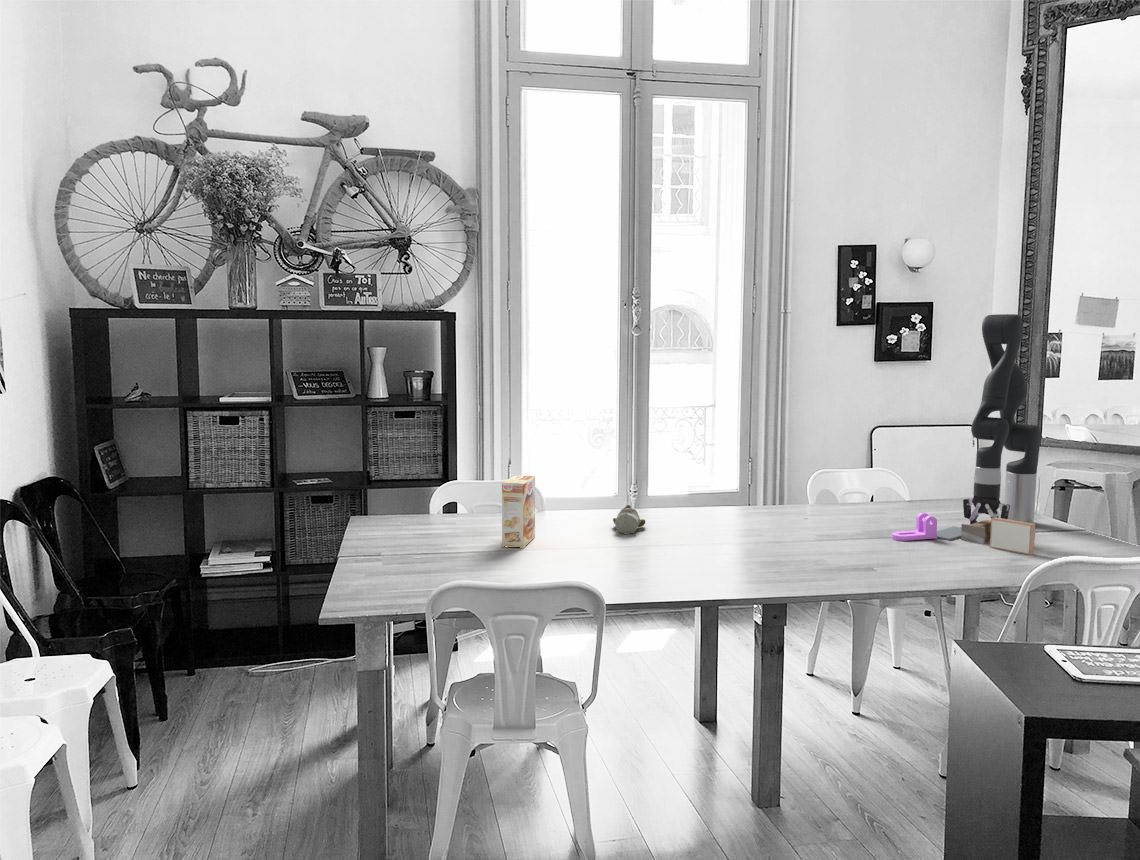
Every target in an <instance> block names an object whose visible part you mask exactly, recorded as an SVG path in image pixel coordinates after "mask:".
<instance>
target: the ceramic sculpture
mask: <svg viewBox="0 0 1140 860" xmlns="http://www.w3.org/2000/svg"><path fill="white" fill-rule="evenodd" d="M612 521H613V524H614V525H615V528H616V531H618V532H619V533H621V534H623V533H624V535H630V534H629V533H631V534H634V533H635V532H636V531H637V529H638V528H642V527H644V526H645V525H646V519H643V518H642V519H641V518H640V516H639V513H638V511H637V510H636V509H635V508H633V507H632V506H631V505H629V504H627V505H625V506H624V507H623V508H621V510H620V511H619V512H618V514H617V516H616V517H613V519H612Z"/></svg>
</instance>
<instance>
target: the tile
mask: <svg viewBox="0 0 1140 860" xmlns="http://www.w3.org/2000/svg"><path fill="white" fill-rule="evenodd" d="M990 519H991V520H990V521H991V533H990V539H989V548H990V549H996V550H1000V551H1007V552H1011V553H1018V554H1021V555H1027V556H1033V555H1034V554H1035V540H1036V539H1035V538H1036V523H1035V522H1034V523H1027V522H1021V521H1015V520H1009V519H1003V518H1000V517H999V518H996V517H993V518H990Z"/></svg>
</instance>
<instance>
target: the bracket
mask: <svg viewBox="0 0 1140 860" xmlns="http://www.w3.org/2000/svg"><path fill="white" fill-rule="evenodd" d="M915 520H916V521H915V522H916V525H915V530H913V529H912V530H902V531H894V532H893V531H892V533H891V539H892V540H895V541H899V542H900V541H902V542H907V541H916V540H930V539H938V538H937V531H938V520H937V518H936V517H935V516H933V515H929V514H928V513H926V512H919V513H918V514H917V516H916V519H915ZM930 521H931V522H930Z"/></svg>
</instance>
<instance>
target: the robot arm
mask: <svg viewBox="0 0 1140 860" xmlns="http://www.w3.org/2000/svg"><path fill="white" fill-rule="evenodd" d="M981 333H982V339H983V342H984V346H985V349H986V353H987V355H988V359H989V363H990V367H991V370H990V372H989V373H988V374H987V377H986V378H985V380H984V382H983V383H984V384H983V390H982V394H981V395H982V396H981V402H980V405H979V408H978V410H977V412H976V415H975V417H974V418H973V421H972V424H971V427H970V430H971V431H970V432H971V434H972V436H973V438H975V439H976V440H977V439H978V440H986V441H993V444H992V445H990V446H985V447H983V446H982V447H979V448H978V449H977V450H976V454H975V455H976V456H975V469H974V477H973V497H972V498H964V499H963V500H962V505H963V517H964V518H965V519H968V521H970V522H969V525H970V524H974V523H977V522H978V520H977V519H978V517H979V516H980V515H982V514H985V515H988V516H989V517H990V519H991V518H993V517H996V518H1003V519H1009V520H1015V521H1021V522H1027V523H1034V524H1035V509H1036V489H1037V474H1038V466H1039V457H1040V455H1039V454H1040V447H1041V438H1042V437H1041V436H1042V435H1041V433H1042V432H1041V429H1040V427H1039V426H1038V425H1036V424H1025V423H1016V421H1015V415H1016V413H1017V411H1018V410H1019V408H1020V406H1021V405H1022V404H1023V402H1024V401H1025V399H1026V397H1027V395H1028V387H1027V381H1026V375H1025V373H1024V370H1022V368H1021V367H1020V366H1019V365H1018V364H1017V363H1016V360H1017V357H1018V352H1019V350H1020V346H1021V343H1022V339H1023V335H1024V321H1023V318H1022V317H1021V315H1019V314H1014V313H1013V314H1011V313H1009V314H988V315H986V316H984V318H983V319H982V323H981ZM1003 345H1006V346H1005V349H1004V347H1003ZM998 411H999V416H1000V417H989V416H990V414H991V413H994V412H998ZM1004 448H1005V450H1007V451H1011V452H1017V453H1018V452H1020V453H1024V456H1023V457H1022V458H1020V459H1017V460H1014V461H1009V462H1007V463H1006V466H1005V467H1006V468H1005V486H1004V487H1005V488H1004V500H1003V501H1004V503H1001V501H1000V497H1001V485H1002V484H1001V483H1002V482H1001V481H1002V473H1001V472H1002V471H1001V466H1002V464H1001V463H1002V454H1003V449H1004ZM972 505H973V506H974V510H973V511H972ZM999 508H1000V511H1001V512H1000V513H999V511H998V509H999Z"/></svg>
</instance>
